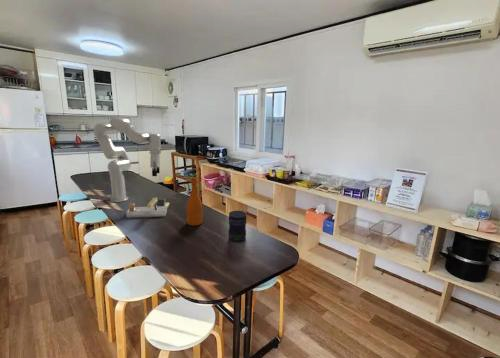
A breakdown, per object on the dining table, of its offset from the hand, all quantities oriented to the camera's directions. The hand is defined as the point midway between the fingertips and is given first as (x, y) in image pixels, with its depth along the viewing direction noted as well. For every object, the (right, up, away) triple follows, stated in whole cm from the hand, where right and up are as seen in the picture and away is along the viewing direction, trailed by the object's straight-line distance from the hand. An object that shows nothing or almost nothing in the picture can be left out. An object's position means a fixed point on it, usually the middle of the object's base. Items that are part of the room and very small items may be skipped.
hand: (155, 174), depth 182 cm
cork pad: (+2, -24, +4) cm, 24 cm away
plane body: (-1, -27, -13) cm, 30 cm away
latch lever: (+6, -20, -20) cm, 29 cm away
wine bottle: (+34, -32, -24) cm, 52 cm away
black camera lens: (+62, -37, -43) cm, 84 cm away
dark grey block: (+2, -23, +3) cm, 23 cm away
